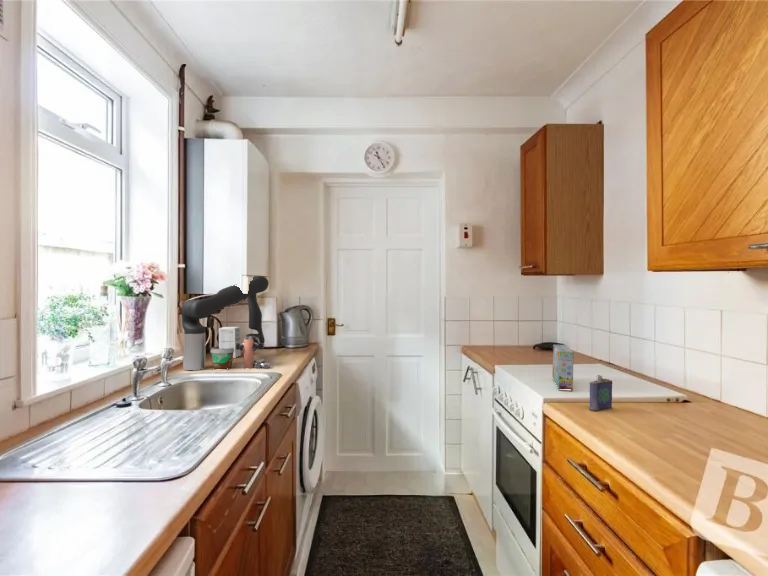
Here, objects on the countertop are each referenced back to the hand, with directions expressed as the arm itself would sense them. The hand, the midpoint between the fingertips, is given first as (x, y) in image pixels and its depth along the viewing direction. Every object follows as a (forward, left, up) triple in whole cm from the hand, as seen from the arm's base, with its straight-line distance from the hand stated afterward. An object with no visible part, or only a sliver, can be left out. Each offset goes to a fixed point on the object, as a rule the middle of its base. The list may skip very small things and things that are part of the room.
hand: (248, 348), depth 198 cm
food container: (-12, -7, -10) cm, 17 cm away
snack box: (+136, +36, -10) cm, 141 cm away
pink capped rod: (-2, +2, -10) cm, 10 cm away
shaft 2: (+5, +4, -10) cm, 12 cm away
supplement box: (-36, +20, -10) cm, 42 cm away
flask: (+150, +6, -10) cm, 151 cm away
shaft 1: (-2, +9, -10) cm, 14 cm away
